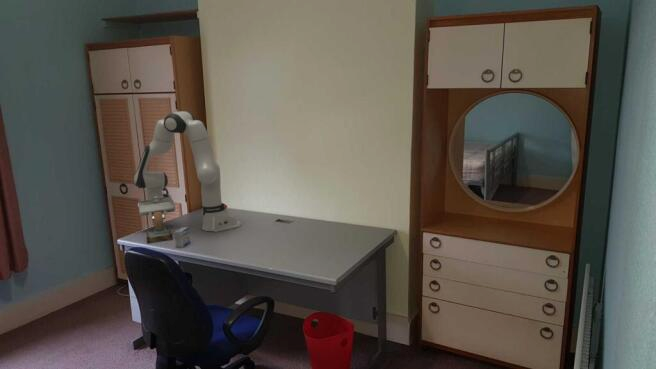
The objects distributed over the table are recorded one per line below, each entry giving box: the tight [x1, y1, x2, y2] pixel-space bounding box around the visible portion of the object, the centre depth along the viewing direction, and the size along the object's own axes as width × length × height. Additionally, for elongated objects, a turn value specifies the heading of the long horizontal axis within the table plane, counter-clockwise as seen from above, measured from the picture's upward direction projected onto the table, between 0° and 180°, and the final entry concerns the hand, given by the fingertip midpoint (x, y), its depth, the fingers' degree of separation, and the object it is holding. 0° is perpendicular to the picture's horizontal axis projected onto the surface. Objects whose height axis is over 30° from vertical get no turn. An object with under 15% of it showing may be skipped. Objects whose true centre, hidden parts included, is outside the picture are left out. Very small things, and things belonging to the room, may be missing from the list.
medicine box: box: [173, 226, 191, 248], centre depth 247 cm, size 8×4×9 cm, turn 168°
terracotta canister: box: [153, 211, 165, 230], centre depth 271 cm, size 4×4×10 cm
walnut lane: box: [145, 227, 173, 244], centre depth 260 cm, size 13×14×3 cm
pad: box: [153, 226, 168, 236], centre depth 272 cm, size 7×10×1 cm
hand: (158, 219), depth 270 cm, fingers closed on terracotta canister, 4 cm apart
